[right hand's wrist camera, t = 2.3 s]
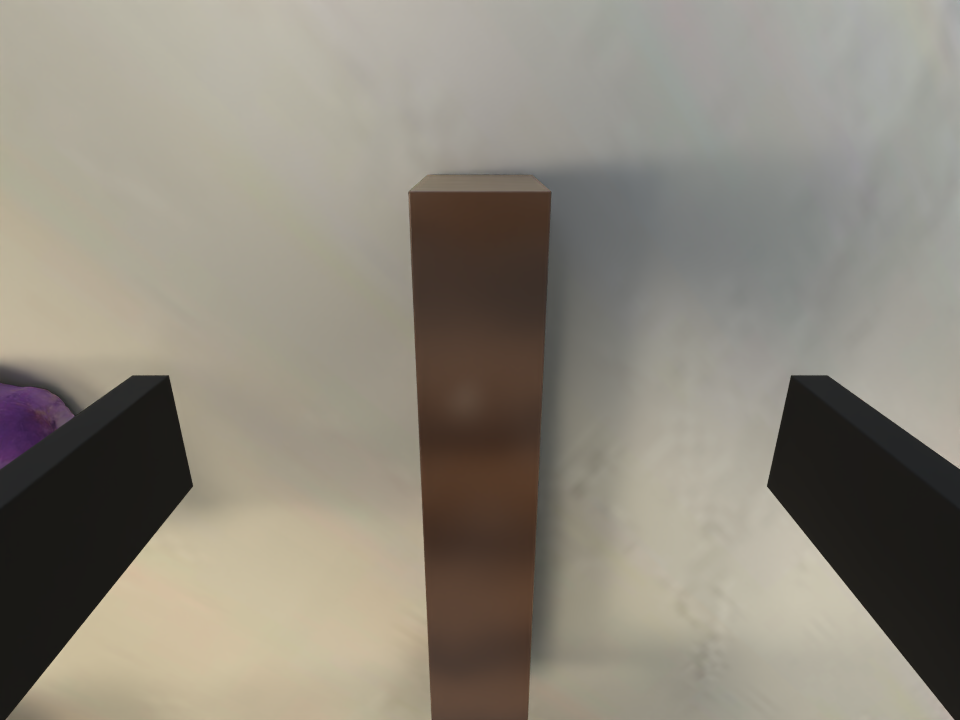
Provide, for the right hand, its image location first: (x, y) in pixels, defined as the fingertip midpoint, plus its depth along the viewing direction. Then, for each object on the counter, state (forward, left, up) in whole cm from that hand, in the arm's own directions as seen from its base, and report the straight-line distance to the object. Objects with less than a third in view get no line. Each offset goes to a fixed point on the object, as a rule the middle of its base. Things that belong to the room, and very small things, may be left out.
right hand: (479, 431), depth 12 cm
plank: (0, -12, -19) cm, 22 cm away
